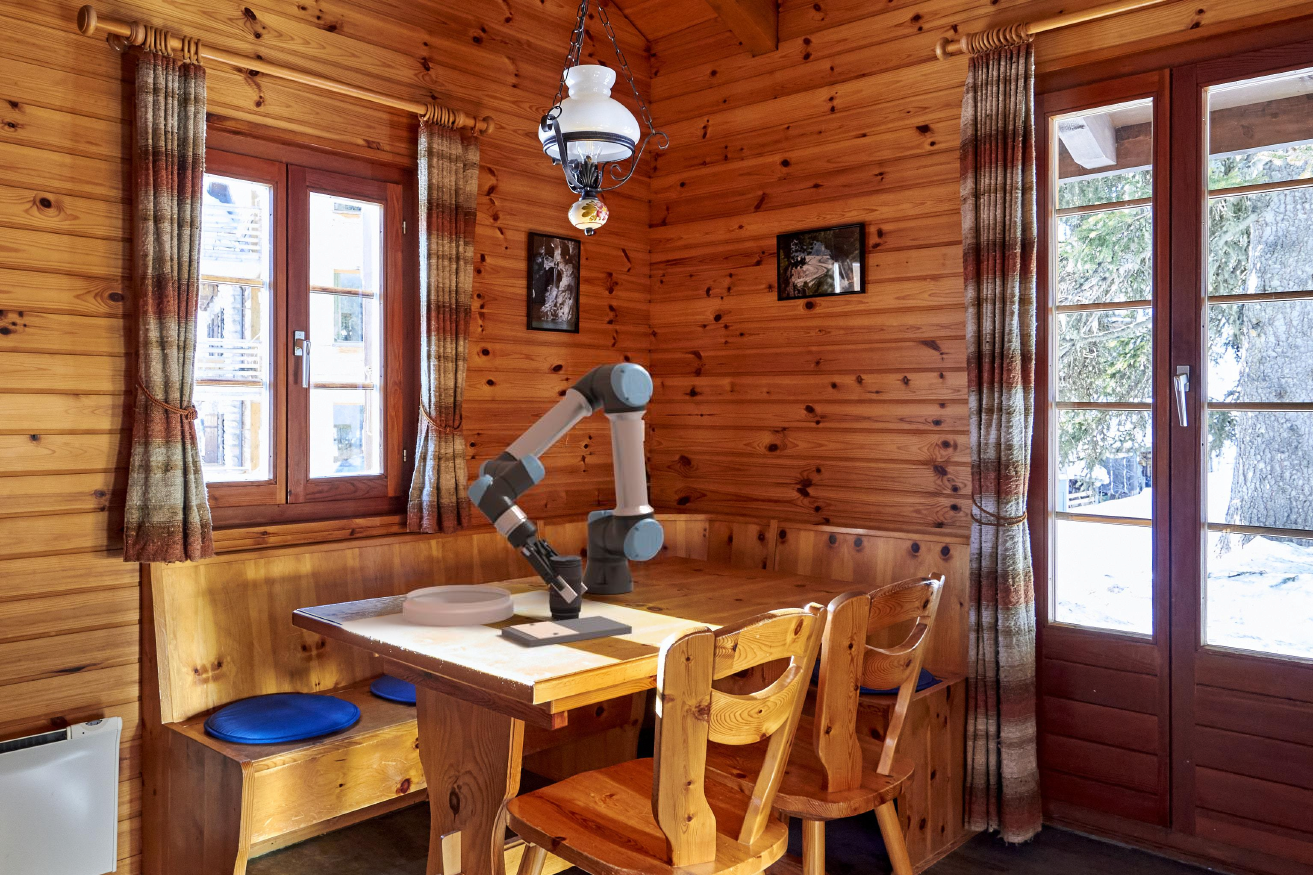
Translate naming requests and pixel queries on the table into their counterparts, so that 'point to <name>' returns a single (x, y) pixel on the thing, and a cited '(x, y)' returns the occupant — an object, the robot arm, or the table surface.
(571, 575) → the camera lens
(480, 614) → the white round tray
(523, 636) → the board
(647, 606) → the table surface
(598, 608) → the table surface
